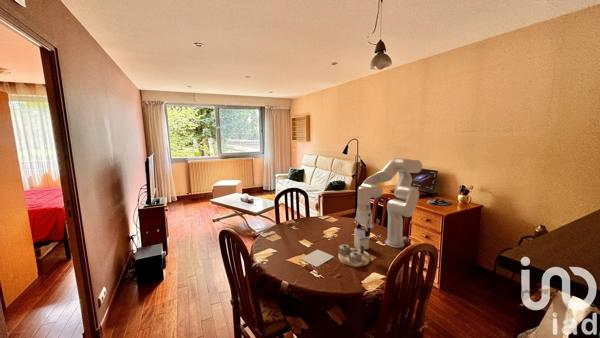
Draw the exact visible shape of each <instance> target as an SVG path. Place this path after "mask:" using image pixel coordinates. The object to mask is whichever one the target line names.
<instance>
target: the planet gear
mask: <svg viewBox="0 0 600 338" xmlns="http://www.w3.org/2000/svg"><path fill="white" fill-rule="evenodd" d="M365 231H366V228H365V227H361V228H358V230H357V235H358V236H359V237H363V238H366V237H365ZM368 237H369V238H370V236H368Z"/></svg>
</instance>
